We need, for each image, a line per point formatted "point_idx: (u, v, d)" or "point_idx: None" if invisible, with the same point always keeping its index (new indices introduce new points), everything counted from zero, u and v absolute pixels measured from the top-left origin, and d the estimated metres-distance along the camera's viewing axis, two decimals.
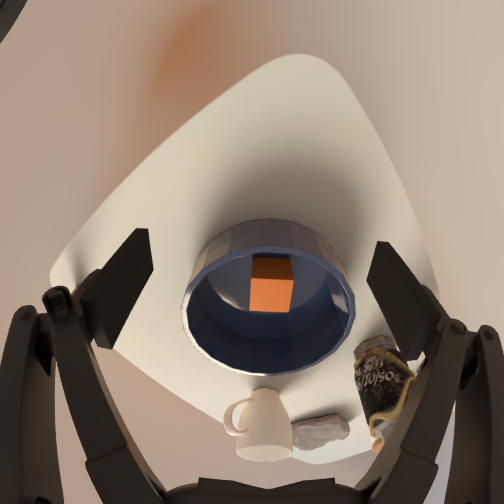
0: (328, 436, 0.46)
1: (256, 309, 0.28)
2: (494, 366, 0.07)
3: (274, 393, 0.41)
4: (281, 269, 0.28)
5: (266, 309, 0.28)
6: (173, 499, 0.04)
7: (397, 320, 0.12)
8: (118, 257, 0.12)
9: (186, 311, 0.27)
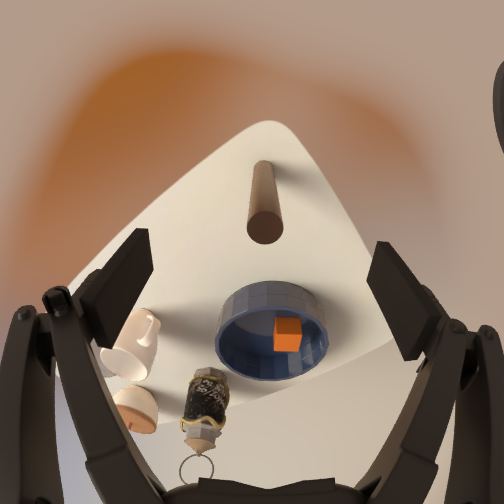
0: (103, 367, 0.51)
1: (277, 337, 0.42)
2: (494, 366, 0.07)
3: None
4: None
5: (277, 341, 0.42)
6: (173, 499, 0.04)
7: (397, 320, 0.12)
8: (118, 257, 0.12)
9: (285, 309, 0.37)
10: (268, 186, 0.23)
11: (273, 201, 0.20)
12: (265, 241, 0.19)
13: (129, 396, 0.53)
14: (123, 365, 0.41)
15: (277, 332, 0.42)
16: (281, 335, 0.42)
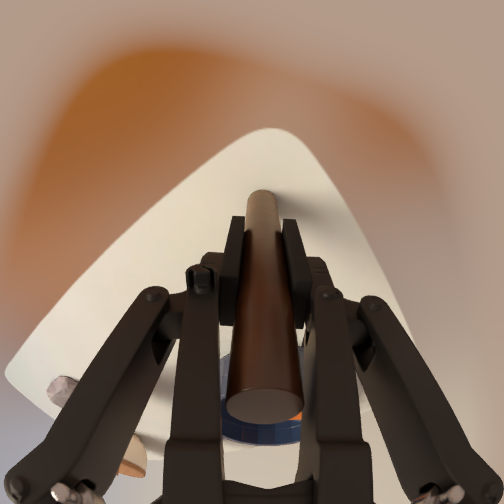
0: None
1: None
2: (393, 340, 0.08)
3: None
4: None
5: None
6: None
7: None
8: (234, 240, 0.14)
9: None
10: (271, 269, 0.12)
11: (283, 329, 0.09)
12: (265, 421, 0.08)
13: None
14: None
15: None
16: None
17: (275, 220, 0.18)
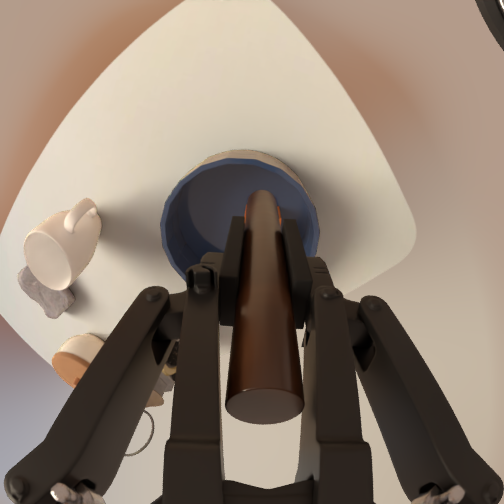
0: (48, 301, 0.40)
1: None
2: (393, 340, 0.08)
3: None
4: None
5: None
6: None
7: None
8: (234, 240, 0.14)
9: (251, 164, 0.26)
10: (271, 269, 0.12)
11: (283, 329, 0.09)
12: (265, 422, 0.08)
13: (77, 342, 0.43)
14: (53, 274, 0.30)
15: None
16: None
17: (275, 220, 0.18)
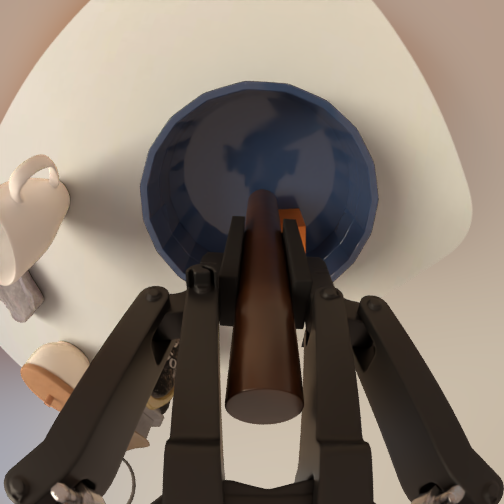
0: (12, 300, 0.29)
1: None
2: (393, 340, 0.08)
3: (66, 212, 0.25)
4: None
5: None
6: None
7: None
8: (234, 240, 0.14)
9: (282, 90, 0.16)
10: (272, 269, 0.12)
11: (283, 330, 0.09)
12: (265, 422, 0.08)
13: (48, 353, 0.32)
14: (3, 263, 0.19)
15: None
16: None
17: (275, 220, 0.18)
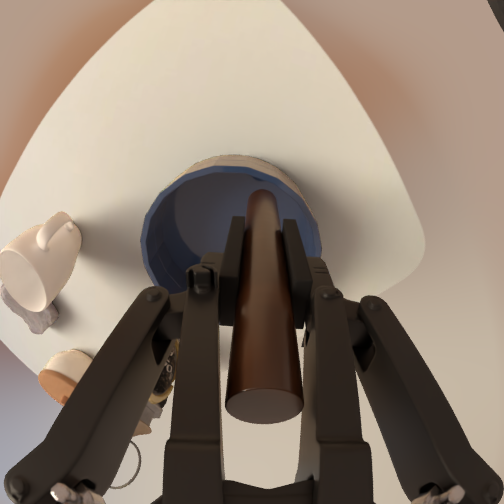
0: (31, 316, 0.36)
1: None
2: (393, 340, 0.08)
3: (79, 249, 0.32)
4: None
5: None
6: None
7: None
8: (234, 240, 0.14)
9: (242, 172, 0.23)
10: (271, 269, 0.12)
11: (283, 330, 0.09)
12: (265, 421, 0.08)
13: (63, 360, 0.38)
14: (30, 293, 0.26)
15: None
16: None
17: (275, 220, 0.18)
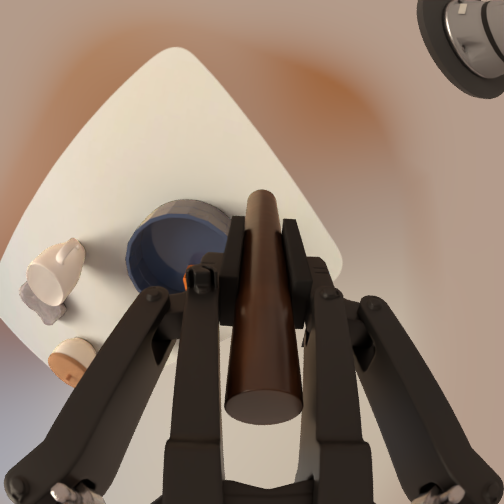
0: (44, 311, 0.48)
1: (185, 282, 0.42)
2: (393, 340, 0.08)
3: None
4: None
5: (186, 288, 0.42)
6: None
7: None
8: (234, 240, 0.14)
9: (185, 217, 0.36)
10: (271, 270, 0.12)
11: (282, 331, 0.09)
12: (264, 422, 0.08)
13: (69, 345, 0.51)
14: (49, 292, 0.38)
15: (184, 277, 0.42)
16: None
17: (275, 220, 0.18)
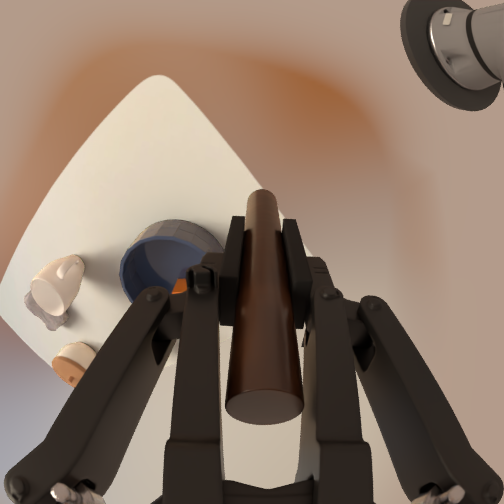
0: (48, 318, 0.52)
1: None
2: (393, 340, 0.08)
3: None
4: None
5: None
6: None
7: None
8: (234, 240, 0.14)
9: (170, 239, 0.39)
10: (271, 269, 0.12)
11: (283, 330, 0.09)
12: (265, 422, 0.08)
13: (71, 349, 0.54)
14: (51, 303, 0.42)
15: (173, 291, 0.45)
16: None
17: (275, 220, 0.18)
